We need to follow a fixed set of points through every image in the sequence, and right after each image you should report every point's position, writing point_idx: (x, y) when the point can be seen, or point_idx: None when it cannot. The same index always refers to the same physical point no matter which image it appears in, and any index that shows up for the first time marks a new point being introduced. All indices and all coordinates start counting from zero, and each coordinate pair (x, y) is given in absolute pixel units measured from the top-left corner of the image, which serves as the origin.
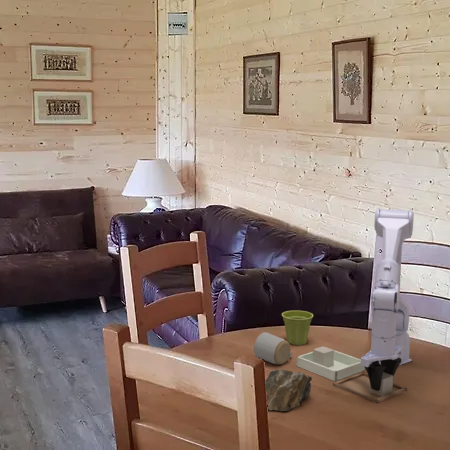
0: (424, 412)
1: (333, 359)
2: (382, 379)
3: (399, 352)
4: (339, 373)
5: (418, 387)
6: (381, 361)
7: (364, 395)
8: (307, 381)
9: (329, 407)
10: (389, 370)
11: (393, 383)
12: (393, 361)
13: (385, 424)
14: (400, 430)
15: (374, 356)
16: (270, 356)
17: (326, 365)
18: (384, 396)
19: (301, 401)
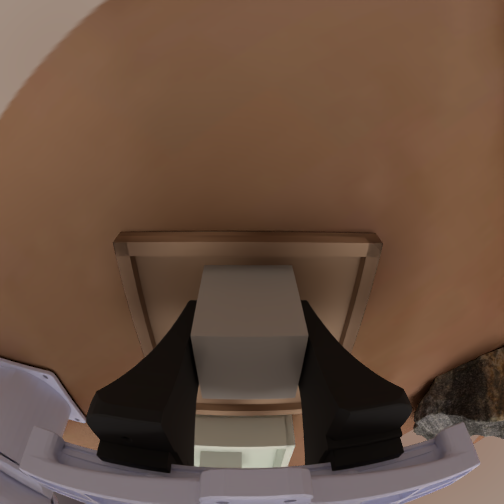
0: (271, 6)
1: (200, 466)
2: (306, 337)
3: (59, 451)
4: (271, 435)
5: (44, 232)
6: (191, 446)
7: (363, 310)
8: (482, 409)
9: (471, 315)
10: (187, 378)
11: (134, 312)
12: (171, 430)
13: (501, 102)
14: (499, 35)
15: (370, 500)
16: None
17: (230, 458)
18: (309, 251)
19: (470, 365)
